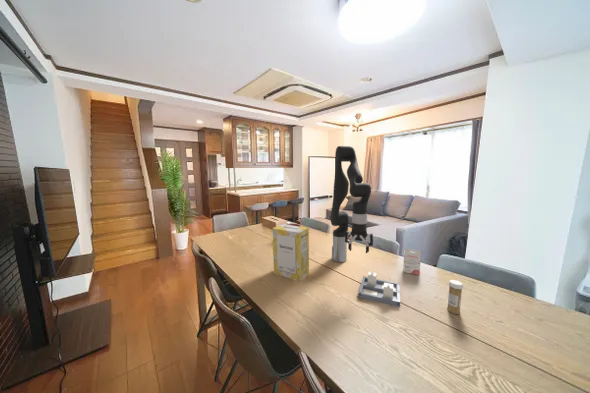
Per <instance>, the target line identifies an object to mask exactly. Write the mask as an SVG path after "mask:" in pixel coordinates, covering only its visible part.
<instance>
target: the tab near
mask: <svg viewBox="0 0 590 393" xmlns="http://www.w3.org/2000/svg"><path fill="white" fill-rule="evenodd" d="M383 297H386V298H390V299H393V284H390V283H384V295H383Z"/></svg>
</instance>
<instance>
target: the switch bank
mask: <svg viewBox="0 0 590 393" xmlns="http://www.w3.org/2000/svg"><path fill="white" fill-rule="evenodd" d="M384 283H390V284H393V299H390V298H386V297H383V295H384ZM367 284H368V276H362V279H361V283H360V285H359V290H358V296H357V297H358V298H359V299H362V300H366V301H369V302H370V301H371V302H376V303H380V304H383V305H388V306H392V307H398V308H401V294H400V293H401V292H400V291H401V289H400V282H395V281H391V280H389V281H388V280H384V279H379V278H376V286H371V285H367Z"/></svg>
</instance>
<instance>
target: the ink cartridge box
mask: <svg viewBox="0 0 590 393" xmlns="http://www.w3.org/2000/svg"><path fill="white" fill-rule="evenodd" d="M421 257H422V256H421V250H418V249H412V248H404V251H403V268H402V269H403V270H402V271H403V273H406V274H407V273H408V274H413V275H418V276H419V275H421Z"/></svg>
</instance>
